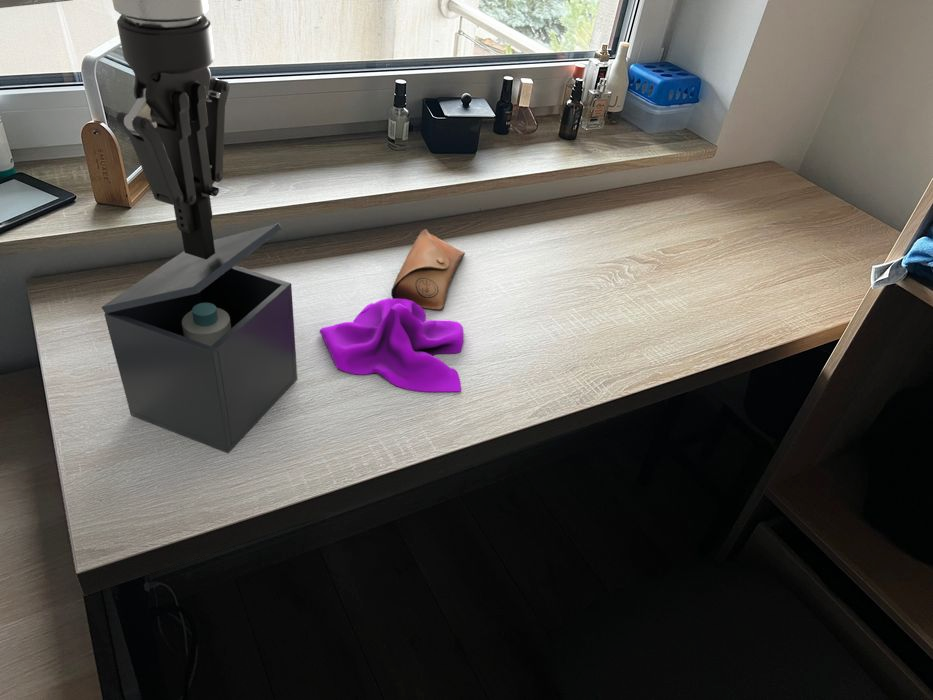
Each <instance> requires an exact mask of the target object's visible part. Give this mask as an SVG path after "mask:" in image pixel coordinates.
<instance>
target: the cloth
mask: <svg viewBox="0 0 933 700" xmlns="http://www.w3.org/2000/svg"><path fill="white" fill-rule="evenodd" d="M426 316H427V315H426V311H425V309H424V308H421V307H420V306H419V305H417V304H416V303H415V302H413V301H411V300H407V299H393V298H384V299H380V300H378V301H376V302H371V303H369V304H367V305H366V306H365V307H364V308H363V309H362V310H361V311H360V312H359V313H358V314H357V315H356V317H355V318H354V319H353V321H344V322H340V323H337V324H336V323H335V324H333V325H330V326H326V327H322V328H320V329H319V333H320V335H321V337H322V338H323V340H324V342H325V345H326V347H327V349H328V351H329V352H330V355H331V357H332V360H333V362H334V364H335V366H336V368H337V369H338V370H340V371H342V372H345V373H348V374H351V375H357V376H365V375H366V376H367V375H371V374H379V375H380V376H381V377H383V378H384V379H385V380H387V381H388V382H389V383H391V384H392V385H393V386H395V387H398V388H400V389H404V390H409V391H415V392H421V393H422V392H423V393H460V392H461V391H462V385H461V379H460V375H459V373H458V370H456V369H455V368H451V367H450V366H449V365H448V364H446V363H445V362H444V361H442V360H441V359H440V358H438V357H436V356H435V355H446V354H447V355H448V354H451V355H453V354H459V353H461V351H462V349H463V346H464V326H463V325H462V324H461V323H460V322H458V321H456V320H455V321H454V320H436V319H429V320H426V318H427V317H426Z"/></svg>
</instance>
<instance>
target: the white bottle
mask: <svg viewBox="0 0 933 700" xmlns="http://www.w3.org/2000/svg"><path fill="white" fill-rule="evenodd" d="M182 328H183V334H184V337H186V338H189V339H192V340H195V341H198V342H200V343H203V344H206V345H209V346H212V345H213V344H214V343H215V342H216V341H218V340H219V339H220V338H221V337H222V336H223V335H224V334H226V333H227V332H228V331H229V330H230V329H231V323H230V317H229V315H228V313H227V312H226V311H224V310H222V309H220V308H216V306H215V305H214V304H211V303H200V304H197V305H195V306H194V307H193V309H192V311H190V312H188V313H187V314H186V315H185V316H184V317H183V319H182Z"/></svg>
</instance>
